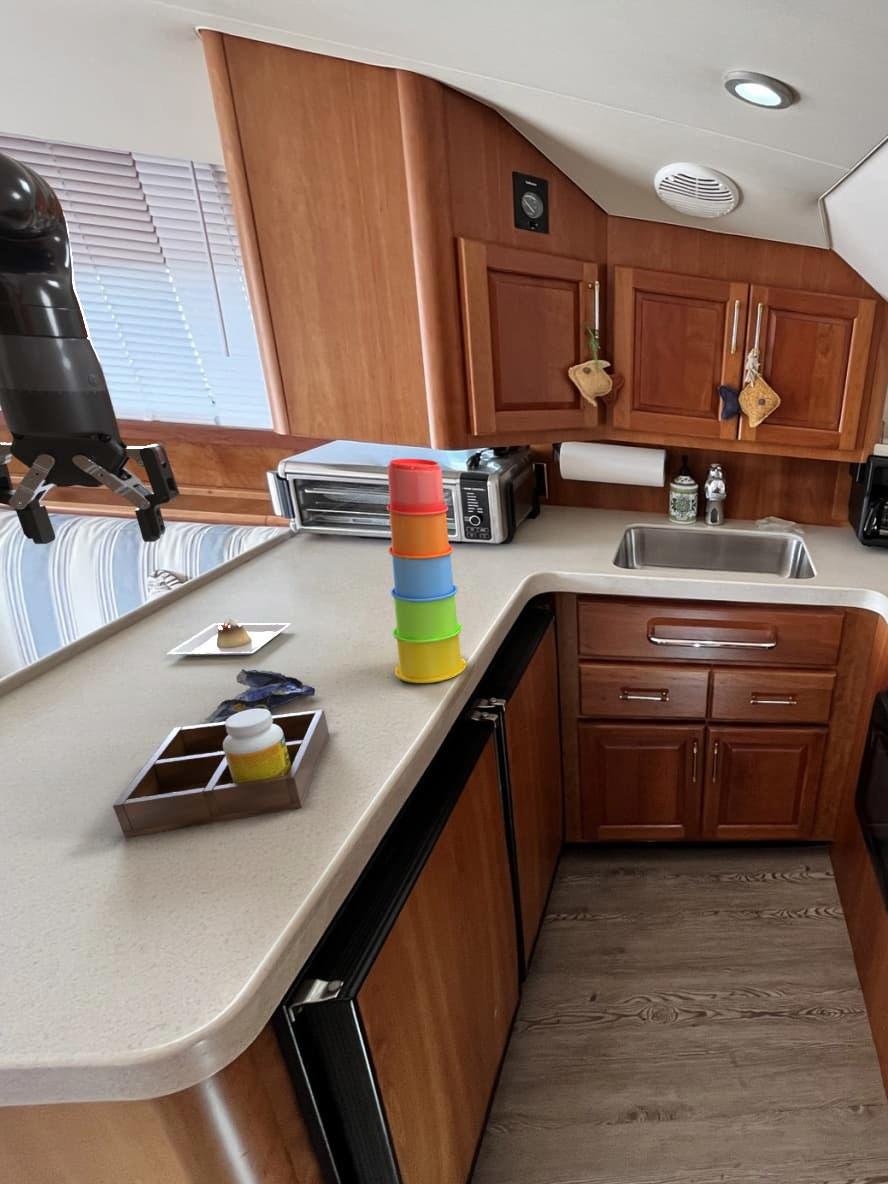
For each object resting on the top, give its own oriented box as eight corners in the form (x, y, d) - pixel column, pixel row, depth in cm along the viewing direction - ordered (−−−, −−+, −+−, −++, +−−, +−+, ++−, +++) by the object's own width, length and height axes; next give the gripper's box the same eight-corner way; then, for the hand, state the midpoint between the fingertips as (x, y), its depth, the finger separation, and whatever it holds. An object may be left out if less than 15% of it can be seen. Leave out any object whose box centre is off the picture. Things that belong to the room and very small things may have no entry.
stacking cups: (408, 657, 109) (377, 454, 96) (473, 656, 111) (450, 457, 99) (385, 686, 100) (347, 466, 87) (456, 684, 102) (429, 469, 89)
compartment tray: (124, 838, 68) (112, 806, 66) (183, 756, 81) (174, 727, 79) (301, 807, 74) (294, 777, 72) (329, 736, 87) (323, 709, 85)
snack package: (215, 696, 94) (198, 735, 84) (215, 656, 92) (197, 691, 83) (317, 692, 100) (312, 728, 91) (318, 655, 99) (313, 687, 90)
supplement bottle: (229, 787, 75) (209, 717, 71) (284, 766, 79) (267, 699, 75) (246, 807, 72) (225, 736, 68) (302, 785, 76) (285, 716, 73)
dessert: (168, 660, 102) (159, 633, 100) (215, 629, 112) (208, 604, 111) (255, 658, 104) (248, 632, 102) (293, 628, 115) (287, 604, 113)
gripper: (163, 386, 69) (199, 531, 74) (-25, 375, 63) (29, 533, 69) (129, 392, 62) (171, 549, 68) (-84, 380, 57) (-19, 553, 62)
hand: (100, 541), depth 68 cm, fingers open, 8 cm apart
